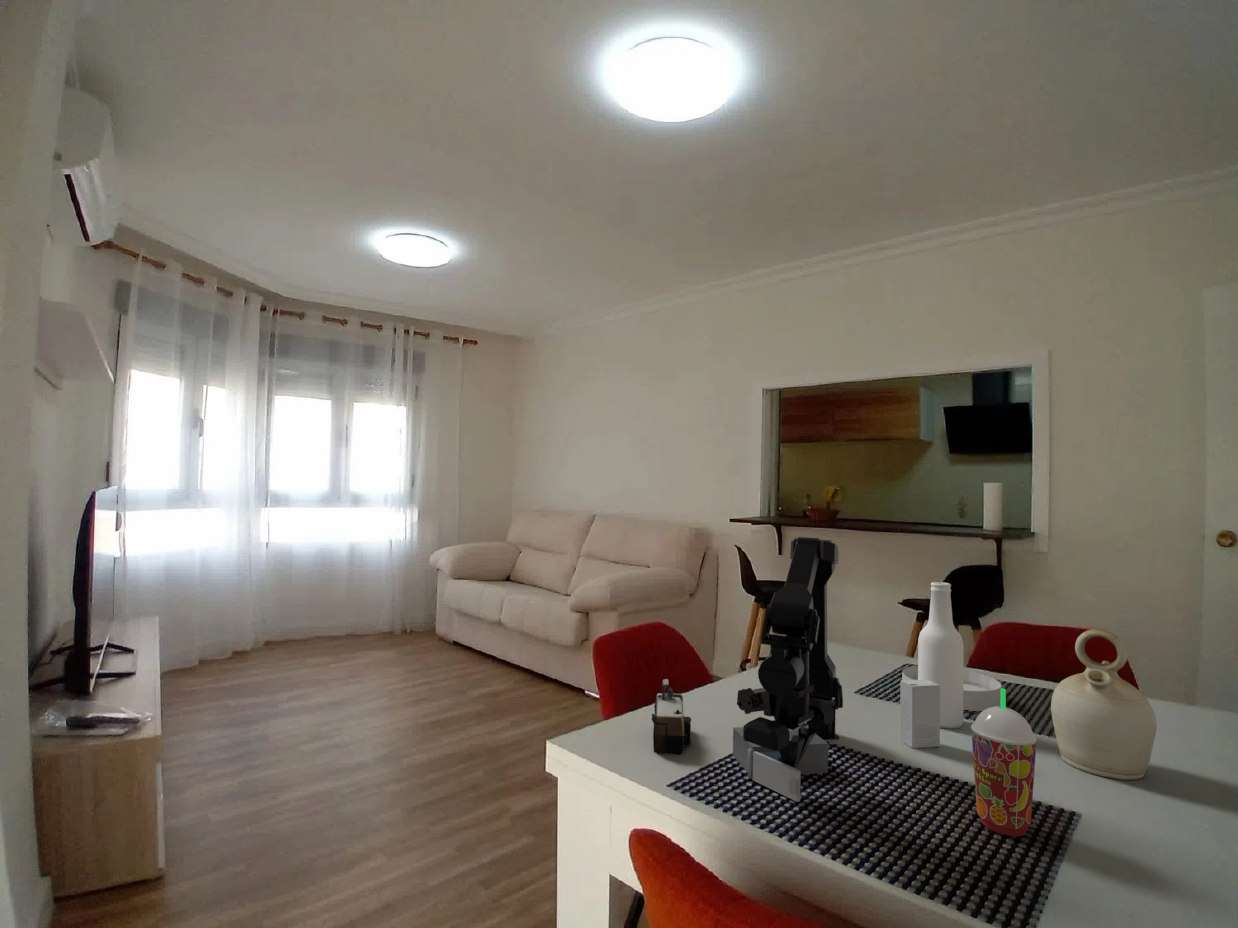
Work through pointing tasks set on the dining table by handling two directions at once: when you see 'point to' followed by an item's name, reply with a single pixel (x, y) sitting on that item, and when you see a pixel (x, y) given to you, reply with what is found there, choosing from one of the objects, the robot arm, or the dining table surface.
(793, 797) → the side door
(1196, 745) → the dining table surface
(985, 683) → the dish
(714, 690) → the dining table surface
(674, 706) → the camera
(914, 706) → the skincare box
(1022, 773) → the smoothie
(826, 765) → the grey appliance box
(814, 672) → the robot arm
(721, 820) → the dining table surface
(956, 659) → the alcohol
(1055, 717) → the jug
